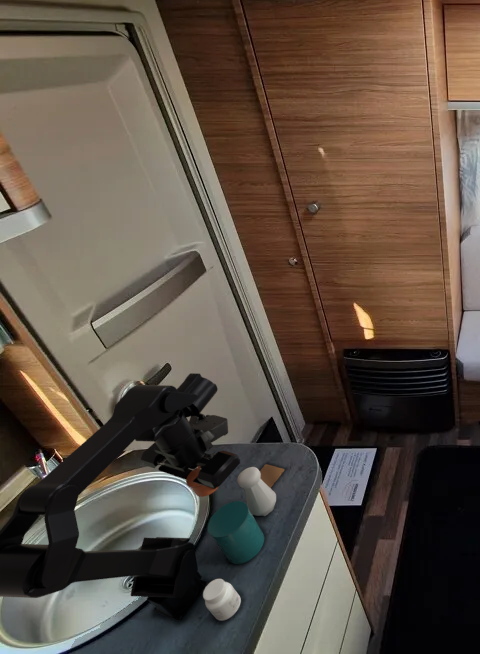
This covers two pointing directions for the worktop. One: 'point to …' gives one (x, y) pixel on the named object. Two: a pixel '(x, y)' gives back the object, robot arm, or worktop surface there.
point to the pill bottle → (221, 599)
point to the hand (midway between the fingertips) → (206, 483)
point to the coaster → (270, 474)
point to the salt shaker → (256, 492)
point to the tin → (236, 532)
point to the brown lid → (197, 488)
